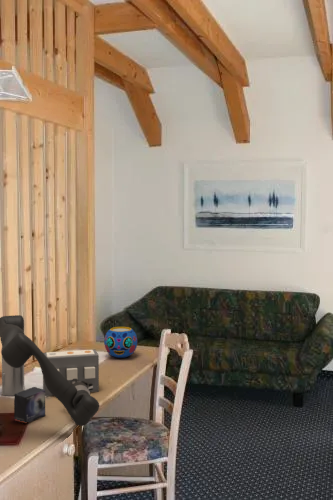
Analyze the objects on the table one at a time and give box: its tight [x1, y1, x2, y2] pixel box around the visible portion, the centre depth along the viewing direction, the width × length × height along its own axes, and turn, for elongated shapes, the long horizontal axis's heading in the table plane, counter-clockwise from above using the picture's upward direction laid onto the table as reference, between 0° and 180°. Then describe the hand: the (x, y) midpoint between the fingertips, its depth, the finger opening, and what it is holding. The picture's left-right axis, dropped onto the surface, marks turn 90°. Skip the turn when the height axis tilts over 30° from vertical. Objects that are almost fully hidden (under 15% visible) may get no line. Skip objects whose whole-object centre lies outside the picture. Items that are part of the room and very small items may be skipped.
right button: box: [84, 366, 95, 379], centre depth 242 cm, size 4×3×4 cm
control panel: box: [42, 349, 100, 397], centre depth 246 cm, size 23×10×17 cm, turn 105°
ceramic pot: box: [103, 326, 138, 359], centre depth 300 cm, size 18×18×15 cm
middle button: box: [66, 367, 78, 380], centre depth 240 cm, size 4×3×4 cm
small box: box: [13, 386, 46, 424], centre depth 214 cm, size 11×6×10 cm, turn 148°
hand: (74, 381), depth 231 cm, fingers closed
